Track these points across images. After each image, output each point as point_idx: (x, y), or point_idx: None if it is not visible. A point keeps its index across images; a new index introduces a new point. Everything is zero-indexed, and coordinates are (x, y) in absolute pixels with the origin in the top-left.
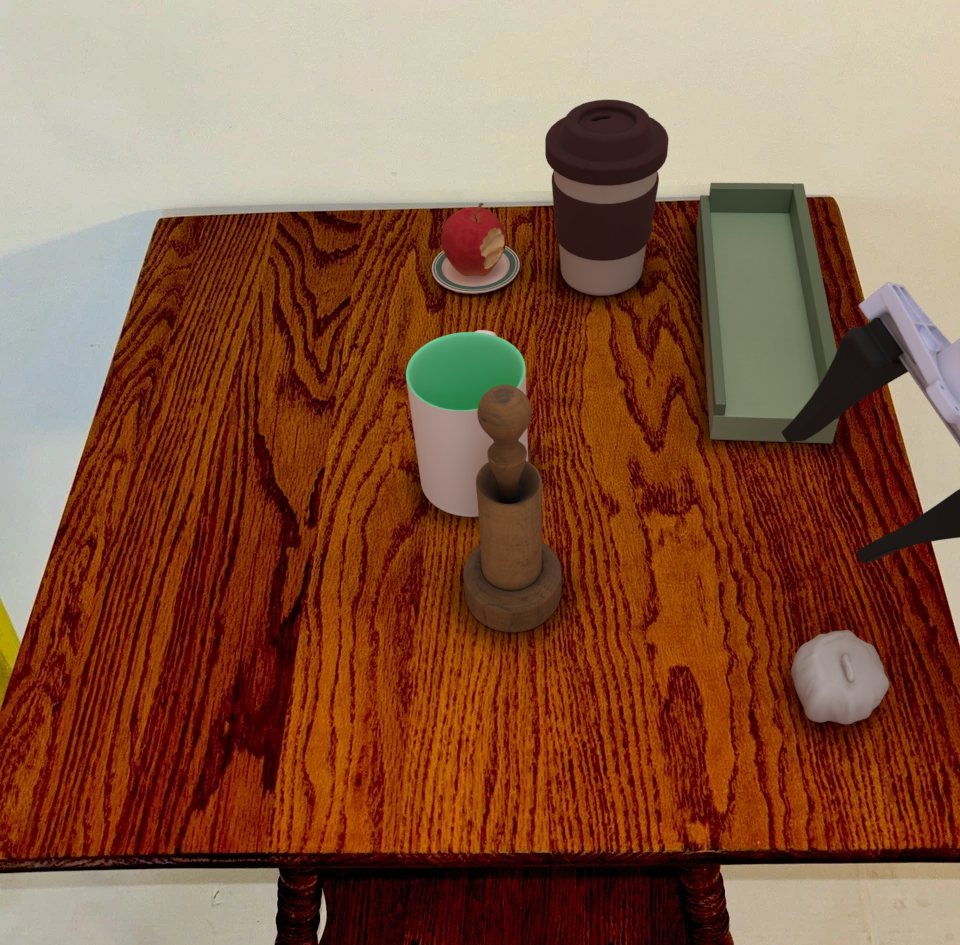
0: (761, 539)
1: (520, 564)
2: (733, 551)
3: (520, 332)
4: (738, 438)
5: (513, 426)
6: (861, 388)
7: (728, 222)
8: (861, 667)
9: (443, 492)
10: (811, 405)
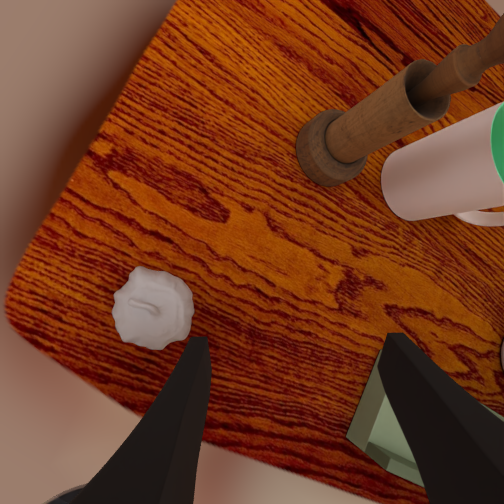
0: (294, 335)
1: (343, 122)
2: (294, 310)
3: (492, 276)
4: (374, 369)
5: None
6: (463, 491)
7: None
8: (140, 320)
9: (408, 145)
10: (447, 382)
